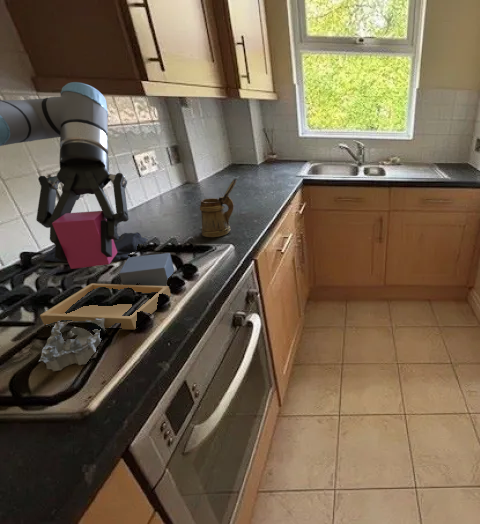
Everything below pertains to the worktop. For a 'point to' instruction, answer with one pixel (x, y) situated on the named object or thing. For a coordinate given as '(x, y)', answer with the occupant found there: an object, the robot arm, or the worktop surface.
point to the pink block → (82, 239)
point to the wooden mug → (217, 214)
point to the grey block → (147, 270)
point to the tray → (104, 307)
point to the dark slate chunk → (123, 245)
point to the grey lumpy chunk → (70, 346)
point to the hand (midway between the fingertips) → (84, 256)
